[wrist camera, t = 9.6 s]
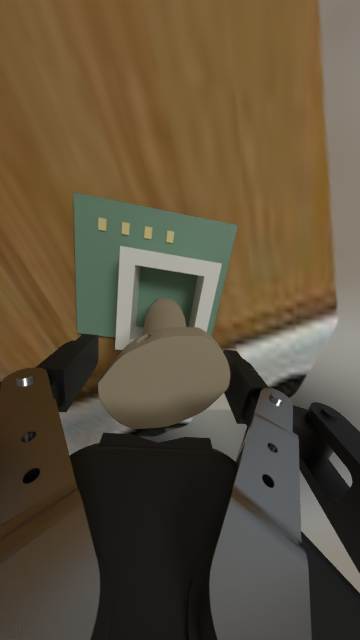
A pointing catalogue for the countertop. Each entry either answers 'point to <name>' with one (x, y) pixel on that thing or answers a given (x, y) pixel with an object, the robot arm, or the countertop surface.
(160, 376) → the handle
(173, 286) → the board
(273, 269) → the countertop surface
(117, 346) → the socket
